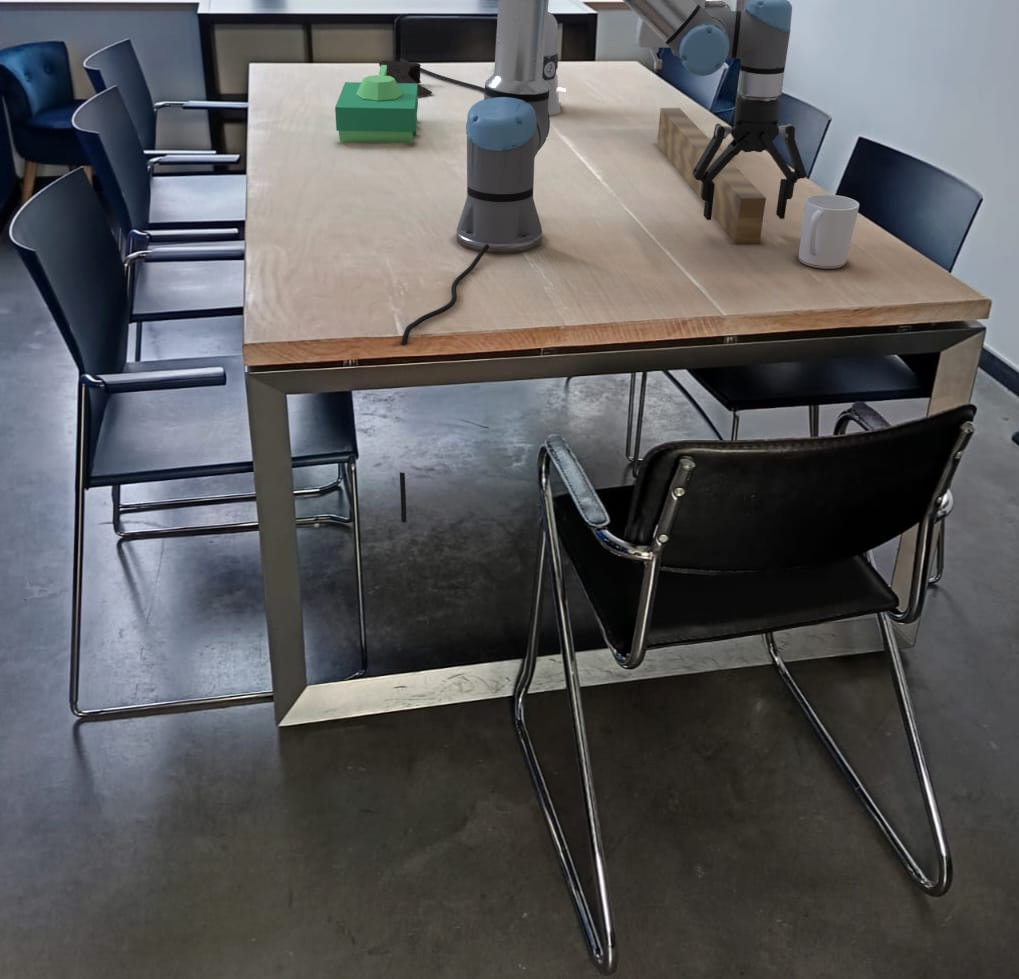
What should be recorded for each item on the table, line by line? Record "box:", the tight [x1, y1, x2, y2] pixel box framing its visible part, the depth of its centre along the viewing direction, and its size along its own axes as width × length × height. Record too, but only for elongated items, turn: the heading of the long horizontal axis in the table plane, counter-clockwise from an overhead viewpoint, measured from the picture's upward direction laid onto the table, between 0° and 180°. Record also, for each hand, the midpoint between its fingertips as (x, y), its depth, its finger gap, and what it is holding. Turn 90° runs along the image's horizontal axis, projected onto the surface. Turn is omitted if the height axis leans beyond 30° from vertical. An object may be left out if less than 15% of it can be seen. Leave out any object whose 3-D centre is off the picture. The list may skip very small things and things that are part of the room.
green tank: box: [334, 65, 419, 144], centre depth 261 cm, size 18×12×35 cm
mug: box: [798, 193, 860, 270], centre depth 186 cm, size 11×9×10 cm
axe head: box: [378, 59, 433, 98], centre depth 299 cm, size 18×8×15 cm
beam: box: [656, 107, 767, 244], centre depth 225 cm, size 70×4×8 cm, turn 5°
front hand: (743, 217), depth 200 cm, fingers open, 13 cm apart
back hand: (678, 68), depth 243 cm, fingers open, 8 cm apart
